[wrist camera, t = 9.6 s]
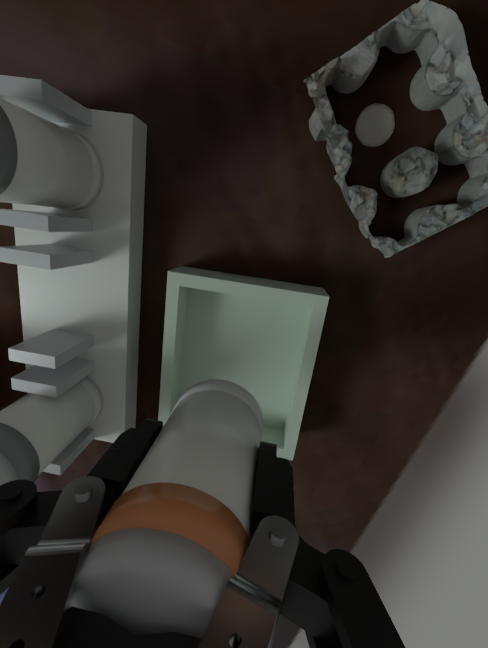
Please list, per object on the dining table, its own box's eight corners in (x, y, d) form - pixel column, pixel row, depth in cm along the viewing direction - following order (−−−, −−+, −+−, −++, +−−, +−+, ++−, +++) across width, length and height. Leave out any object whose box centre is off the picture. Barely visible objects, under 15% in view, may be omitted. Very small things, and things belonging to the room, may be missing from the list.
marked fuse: (178, 371, 15) (44, 549, 7) (270, 387, 15) (254, 597, 6) (172, 448, 17) (54, 678, 8) (256, 465, 16) (227, 724, 8)
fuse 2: (46, 365, 24) (-89, 442, 15) (103, 376, 23) (-2, 461, 15) (49, 417, 25) (-73, 514, 16) (103, 428, 25) (7, 533, 16)
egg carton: (292, 102, 19) (294, 69, 15) (417, 20, 17) (456, -42, 13) (363, 260, 21) (381, 267, 17) (481, 202, 19) (531, 195, 15)
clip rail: (30, 110, 20) (-68, 65, 15) (147, 125, 20) (92, 83, 14) (47, 412, 27) (-14, 460, 22) (135, 429, 27) (95, 483, 21)
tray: (182, 265, 22) (167, 271, 19) (323, 288, 22) (329, 296, 19) (171, 411, 26) (157, 433, 23) (291, 434, 25) (292, 460, 22)
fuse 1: (32, 125, 19) (-177, 37, 10) (104, 134, 18) (-50, 51, 10) (36, 205, 20) (-144, 186, 12) (104, 215, 20) (-32, 203, 11)
